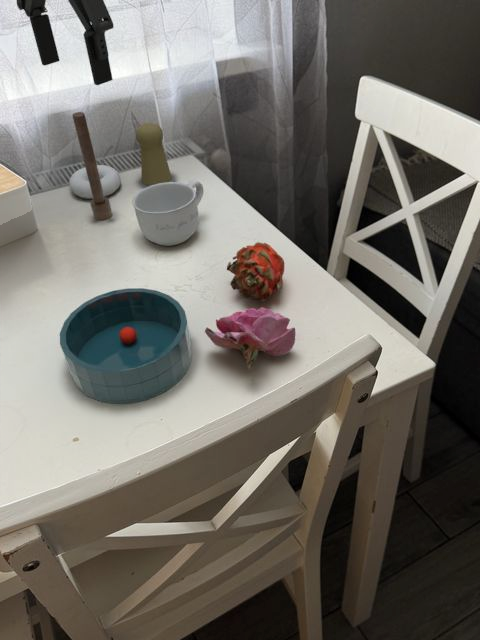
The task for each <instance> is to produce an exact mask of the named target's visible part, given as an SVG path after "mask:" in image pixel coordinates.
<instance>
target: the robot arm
mask: <svg viewBox="0 0 480 640" xmlns="http://www.w3.org/2000/svg"><path fill="white" fill-rule="evenodd" d="M67 1H68V3H69V4H70V6H71V8H72V9H73V12H74V13H75V15H76V16H77V19H79V21H80V23H81V24H82V26H83V28H84V30H85V31H84V33H83V38H84V43H85V48H86V53H87V57H88V61H89V66H90V71H91V74H92V80H93V84H94V85H95V86H100V85H103V84H106V83H109V82H111V81H113V80H114V79H113V74H112V70H111V64H110V59H109V51H108V50H109V49H108V45H107V40H106V32H107V31H109V30H112V29H114V21H113V20H112V17H111V15H110V13H109V9H108V7H107V6H106V3H105V1H104V0H67ZM46 2H47V0H16V5H17V6H16V7H17V8H18V10H20V11H24V13H25V15H26V17H28V18H29V22H30V24H31V28H32V32H33V37H34V39H35V44H36V47H37V51H38V55H39V58H40V62H41V64H42V66H45V67H46V66H48V65H52V64H55V63H58V62H60V60H61V59H60V57H59V52H58V49H57V45H56V44H57V43H56V40H55V37H54V33H53V28H52V24H51V21H50V17H49V14H47V13H48V11H49V10H48V9H47V8H46Z"/></svg>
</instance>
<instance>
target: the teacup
mask: <svg viewBox="0 0 480 640" xmlns="http://www.w3.org/2000/svg"><path fill="white" fill-rule="evenodd" d="M194 188H195V189H194ZM203 196H204V186H203V184H202V183H201V182H200V181H199V180H196V179H192V180H189V181H188V182H187V184H186V183H185V182H184V183H183V182H177V181H170V182H165V183H159V184H155V185H152V186H147V187H144V188H142V189H141V190H139V191H138V192H137V193H135V194H134V196H133V197H132V201H131V205H132V206H133V208H134V212H135V216H136V219H137V223H138V226H139V229H140V231H141V233H142V235H143V236H144V237H145V238H146V239H147V240H149V241H151V242H153V243H156V244H157V245H160V246H167V247H169V246H170V247H171V246H176V245H180V244H183V243H185V242H186V241H187V240H188V239H189V238H191V236H192V235H194V234H195V232H197V231H196V230H197V229H198V227H199V224H200V223H199V222H200V218H199V217H200V216H199V208H198V206H199V204H200V203H201V200H202V199H203Z"/></svg>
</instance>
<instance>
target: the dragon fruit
mask: <svg viewBox="0 0 480 640" xmlns="http://www.w3.org/2000/svg"><path fill="white" fill-rule="evenodd" d="M232 260H234V261H233V262H230V261H229V262H228V263H227V265H226V271H229V272H230V273H231V274H234V276H233V277H232V280H231V281H230V284H229V285H230V287H231V289H232V290H233V291H235V290H238V291H240V292H241V295H242V296H243V297H244V299H251V298H253V299H258V300H259V301H260V302H266V301H268V300H269V299H270V298H271V296H272V294H273V292H275V291H276V292H277V291H280V290H282V289H283V284H284V282H283V281H284V280H283V275H284V273H285V261H284V258H283V257H282V256H281V255H280V254H279V253H278V252H277V251H276V250H275V249H274V248H273V247H272V245H270V244H268V243H266V242H260V241H257V242H255V243H254V245H246V247H245V246H243V247H241V248H240V249H239V250H238V251H236V253H235V256H233V257H232Z"/></svg>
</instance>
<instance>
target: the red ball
mask: <svg viewBox="0 0 480 640" xmlns="http://www.w3.org/2000/svg"><path fill="white" fill-rule="evenodd" d="M119 337H120V340H121V341H122V342H123V343H125V344H131V343H133V342H134V341H135V340H136V338H137V334H136V331H135V330H134V329H133V328H131V327H125V328H123V329H122V330H121V331H120V334H119Z"/></svg>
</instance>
